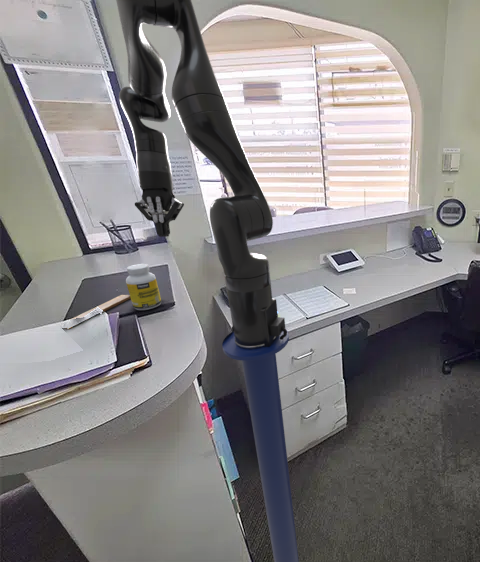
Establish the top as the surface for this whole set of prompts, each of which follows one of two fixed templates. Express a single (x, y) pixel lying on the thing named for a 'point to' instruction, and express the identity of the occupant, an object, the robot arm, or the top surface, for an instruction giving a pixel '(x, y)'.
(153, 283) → the pill bottle
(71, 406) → the top surface
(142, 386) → the top surface
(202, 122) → the robot arm
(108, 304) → the ruler
